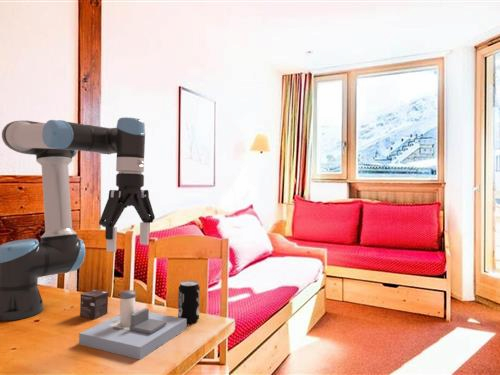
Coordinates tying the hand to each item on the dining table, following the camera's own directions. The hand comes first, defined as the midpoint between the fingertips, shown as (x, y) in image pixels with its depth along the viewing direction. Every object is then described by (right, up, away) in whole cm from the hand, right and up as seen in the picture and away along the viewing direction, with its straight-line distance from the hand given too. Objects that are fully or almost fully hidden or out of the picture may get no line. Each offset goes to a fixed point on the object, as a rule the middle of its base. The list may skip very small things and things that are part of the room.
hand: (128, 247), depth 103 cm
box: (-16, -25, +14) cm, 33 cm away
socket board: (+2, -25, -1) cm, 25 cm away
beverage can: (+15, -25, +11) cm, 32 cm away
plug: (0, -25, 0) cm, 25 cm away
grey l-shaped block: (+6, -21, -3) cm, 23 cm away
